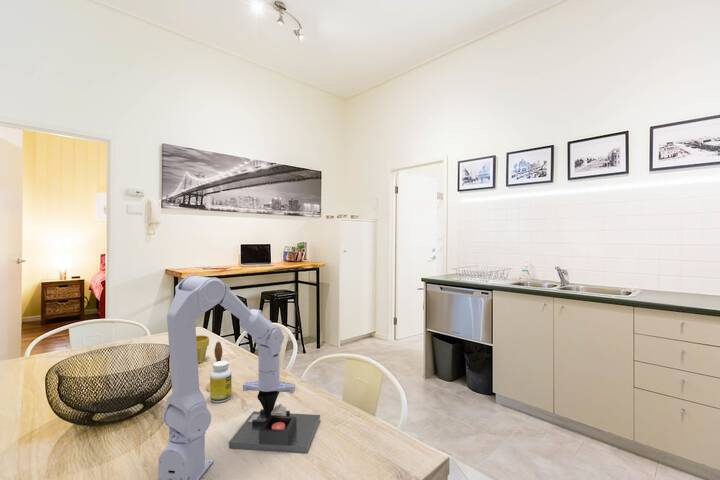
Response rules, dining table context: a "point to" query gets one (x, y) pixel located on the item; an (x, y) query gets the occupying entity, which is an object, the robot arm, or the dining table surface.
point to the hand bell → (218, 357)
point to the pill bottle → (220, 382)
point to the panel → (276, 432)
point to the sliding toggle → (279, 410)
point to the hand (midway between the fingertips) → (269, 416)
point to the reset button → (278, 426)
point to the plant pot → (201, 347)
